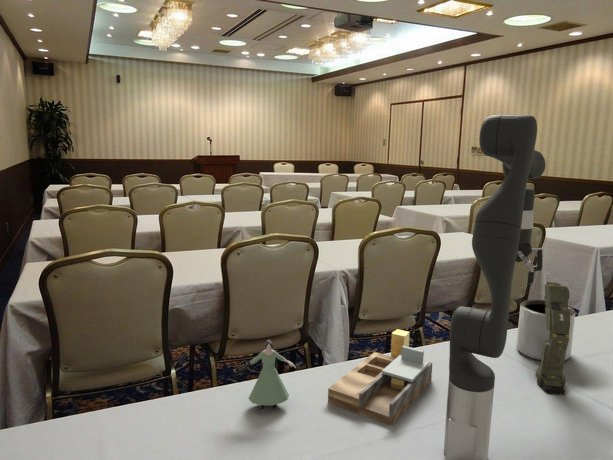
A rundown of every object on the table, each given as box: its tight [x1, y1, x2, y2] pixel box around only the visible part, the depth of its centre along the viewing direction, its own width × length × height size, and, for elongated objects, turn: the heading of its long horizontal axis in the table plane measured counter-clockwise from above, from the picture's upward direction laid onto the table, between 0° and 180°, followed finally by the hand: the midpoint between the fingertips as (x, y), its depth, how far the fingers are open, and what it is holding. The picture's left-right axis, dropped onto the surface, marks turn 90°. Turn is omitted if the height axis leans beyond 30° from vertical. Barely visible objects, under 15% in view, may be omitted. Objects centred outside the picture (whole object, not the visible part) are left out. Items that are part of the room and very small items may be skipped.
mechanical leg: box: [534, 281, 570, 396], centre depth 139 cm, size 14×7×30 cm, turn 168°
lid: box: [382, 346, 430, 382], centre depth 136 cm, size 12×9×4 cm
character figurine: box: [234, 339, 297, 411], centre depth 126 cm, size 16×8×18 cm, turn 100°
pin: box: [390, 328, 411, 358], centre depth 152 cm, size 4×4×10 cm
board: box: [327, 351, 433, 426], centre depth 135 cm, size 27×18×6 cm, turn 146°
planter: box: [515, 299, 576, 362], centre depth 160 cm, size 16×16×16 cm
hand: (512, 281), depth 140 cm, fingers open, 8 cm apart
